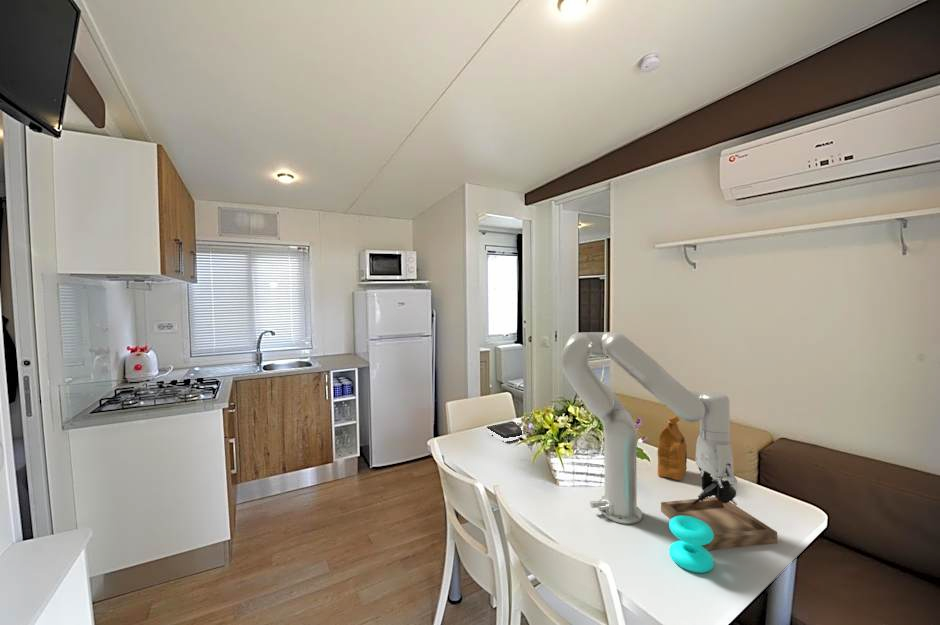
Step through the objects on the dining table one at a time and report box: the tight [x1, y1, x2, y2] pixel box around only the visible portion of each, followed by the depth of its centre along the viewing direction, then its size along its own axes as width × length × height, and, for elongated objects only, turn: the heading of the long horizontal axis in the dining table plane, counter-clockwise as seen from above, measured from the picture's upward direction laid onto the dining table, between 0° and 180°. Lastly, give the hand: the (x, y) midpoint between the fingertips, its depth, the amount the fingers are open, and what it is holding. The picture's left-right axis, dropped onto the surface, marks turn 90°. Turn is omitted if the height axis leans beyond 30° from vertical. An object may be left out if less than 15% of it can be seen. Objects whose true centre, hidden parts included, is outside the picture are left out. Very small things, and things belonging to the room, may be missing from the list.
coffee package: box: [657, 415, 688, 481], centre depth 147 cm, size 10×12×22 cm
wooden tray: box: [660, 496, 778, 552], centre depth 114 cm, size 22×20×3 cm
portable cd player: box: [486, 421, 522, 438], centre depth 195 cm, size 16×17×4 cm
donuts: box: [668, 515, 715, 574], centre depth 98 cm, size 10×10×10 cm
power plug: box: [692, 480, 738, 506], centre depth 114 cm, size 6×8×12 cm
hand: (714, 494), depth 113 cm, fingers closed on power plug, 5 cm apart
